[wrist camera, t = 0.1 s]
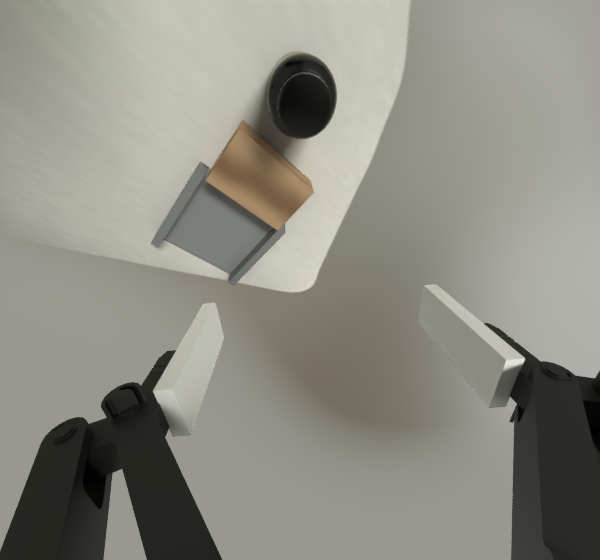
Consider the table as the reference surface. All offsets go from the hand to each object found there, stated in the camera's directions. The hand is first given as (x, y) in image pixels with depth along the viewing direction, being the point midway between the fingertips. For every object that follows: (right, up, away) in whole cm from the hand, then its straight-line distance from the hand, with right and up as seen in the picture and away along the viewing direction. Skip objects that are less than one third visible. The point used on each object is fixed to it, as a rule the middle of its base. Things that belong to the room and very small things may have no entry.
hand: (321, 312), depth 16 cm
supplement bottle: (-2, +25, +14) cm, 29 cm away
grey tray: (-15, +11, +27) cm, 32 cm away
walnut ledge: (-7, +17, +21) cm, 28 cm away
